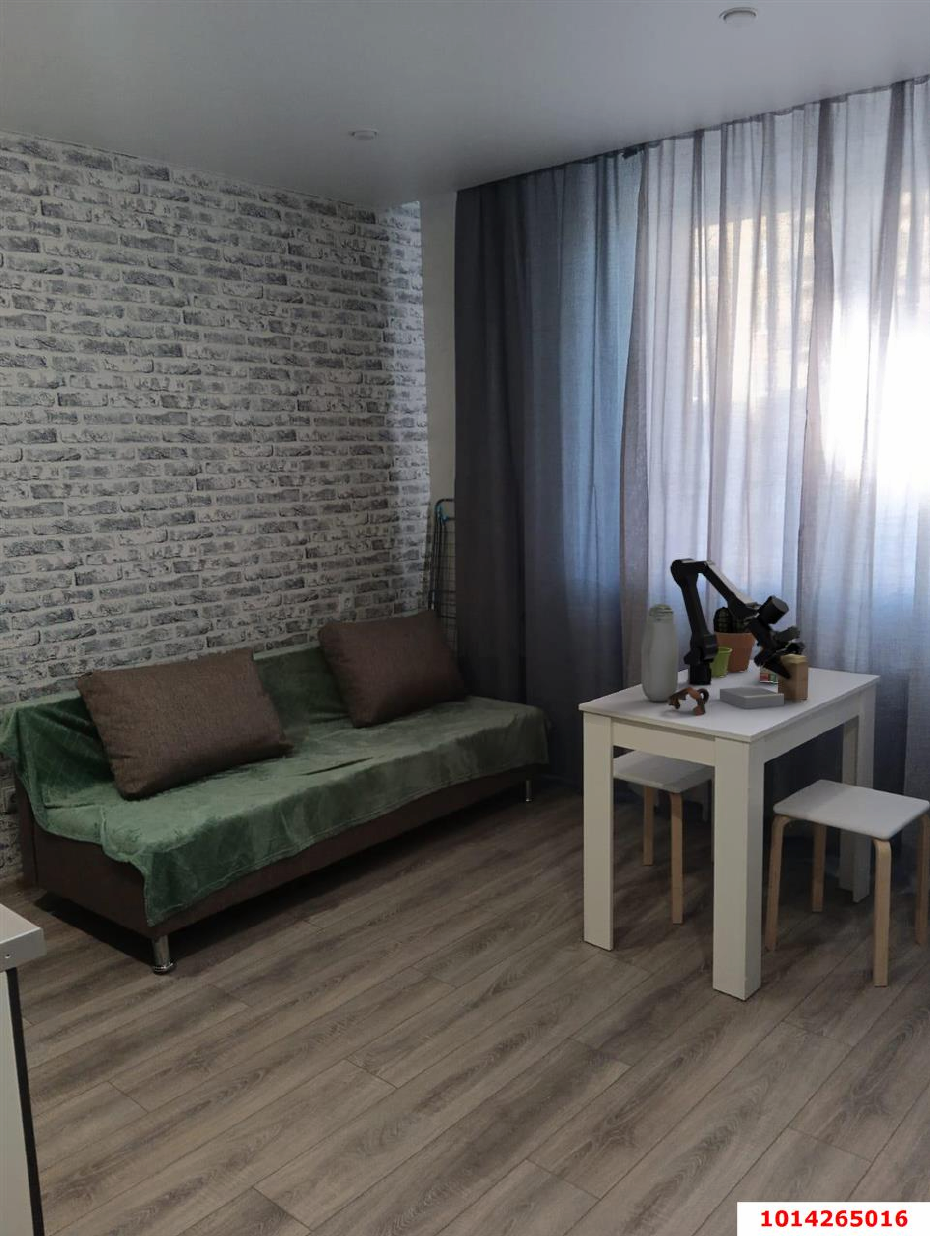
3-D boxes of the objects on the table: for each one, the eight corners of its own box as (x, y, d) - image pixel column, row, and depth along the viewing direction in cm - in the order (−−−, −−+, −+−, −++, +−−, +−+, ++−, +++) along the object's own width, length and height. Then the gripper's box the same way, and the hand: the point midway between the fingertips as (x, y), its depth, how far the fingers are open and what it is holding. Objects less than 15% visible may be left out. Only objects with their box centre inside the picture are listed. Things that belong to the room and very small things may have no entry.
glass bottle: (666, 705, 294) (667, 607, 291) (635, 701, 301) (635, 604, 297) (684, 700, 302) (685, 603, 298) (653, 695, 309) (653, 601, 305)
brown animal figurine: (691, 719, 280) (676, 692, 281) (672, 728, 288) (658, 701, 289) (722, 702, 286) (708, 676, 287) (703, 711, 294) (689, 685, 295)
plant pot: (736, 677, 334) (736, 650, 333) (708, 679, 332) (708, 652, 331) (724, 672, 343) (724, 646, 342) (696, 673, 341) (697, 647, 340)
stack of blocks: (781, 671, 344) (781, 634, 342) (800, 673, 340) (801, 635, 339) (759, 682, 326) (759, 643, 325) (779, 684, 323) (780, 644, 321)
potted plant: (727, 664, 356) (728, 591, 353) (763, 669, 346) (764, 594, 343) (704, 670, 347) (705, 595, 344) (740, 675, 337) (741, 598, 334)
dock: (719, 699, 302) (719, 687, 302) (756, 695, 306) (756, 684, 305) (745, 708, 289) (745, 697, 289) (783, 705, 292) (784, 694, 292)
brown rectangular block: (777, 698, 301) (778, 656, 300) (789, 695, 305) (790, 653, 304) (796, 702, 297) (797, 658, 295) (807, 698, 301) (808, 656, 299)
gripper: (763, 620, 295) (797, 663, 288) (800, 613, 307) (833, 655, 300) (739, 644, 302) (771, 687, 295) (776, 637, 314) (808, 678, 307)
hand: (797, 676), depth 299 cm, fingers open, 8 cm apart
